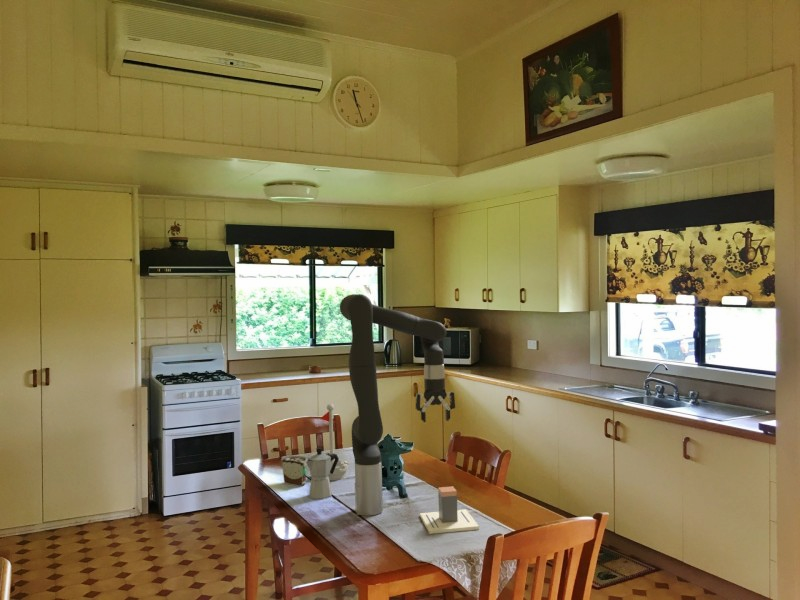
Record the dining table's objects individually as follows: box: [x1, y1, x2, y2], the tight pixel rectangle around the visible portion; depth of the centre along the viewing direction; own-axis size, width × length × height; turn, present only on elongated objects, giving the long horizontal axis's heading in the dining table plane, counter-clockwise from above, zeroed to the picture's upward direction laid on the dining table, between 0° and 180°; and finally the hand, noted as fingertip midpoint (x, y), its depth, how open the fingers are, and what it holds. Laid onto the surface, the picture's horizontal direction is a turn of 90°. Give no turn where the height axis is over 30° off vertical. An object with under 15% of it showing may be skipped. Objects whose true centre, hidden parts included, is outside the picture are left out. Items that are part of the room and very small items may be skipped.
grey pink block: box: [437, 486, 458, 523], centre depth 218 cm, size 5×5×10 cm
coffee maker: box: [305, 447, 340, 500], centre depth 250 cm, size 15×9×18 cm, turn 131°
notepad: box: [419, 508, 480, 535], centre depth 218 cm, size 16×16×1 cm
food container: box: [280, 455, 308, 487], centre depth 267 cm, size 12×6×10 cm, turn 58°
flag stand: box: [320, 403, 349, 481], centre depth 274 cm, size 13×13×30 cm
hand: (435, 421), depth 243 cm, fingers open, 8 cm apart
